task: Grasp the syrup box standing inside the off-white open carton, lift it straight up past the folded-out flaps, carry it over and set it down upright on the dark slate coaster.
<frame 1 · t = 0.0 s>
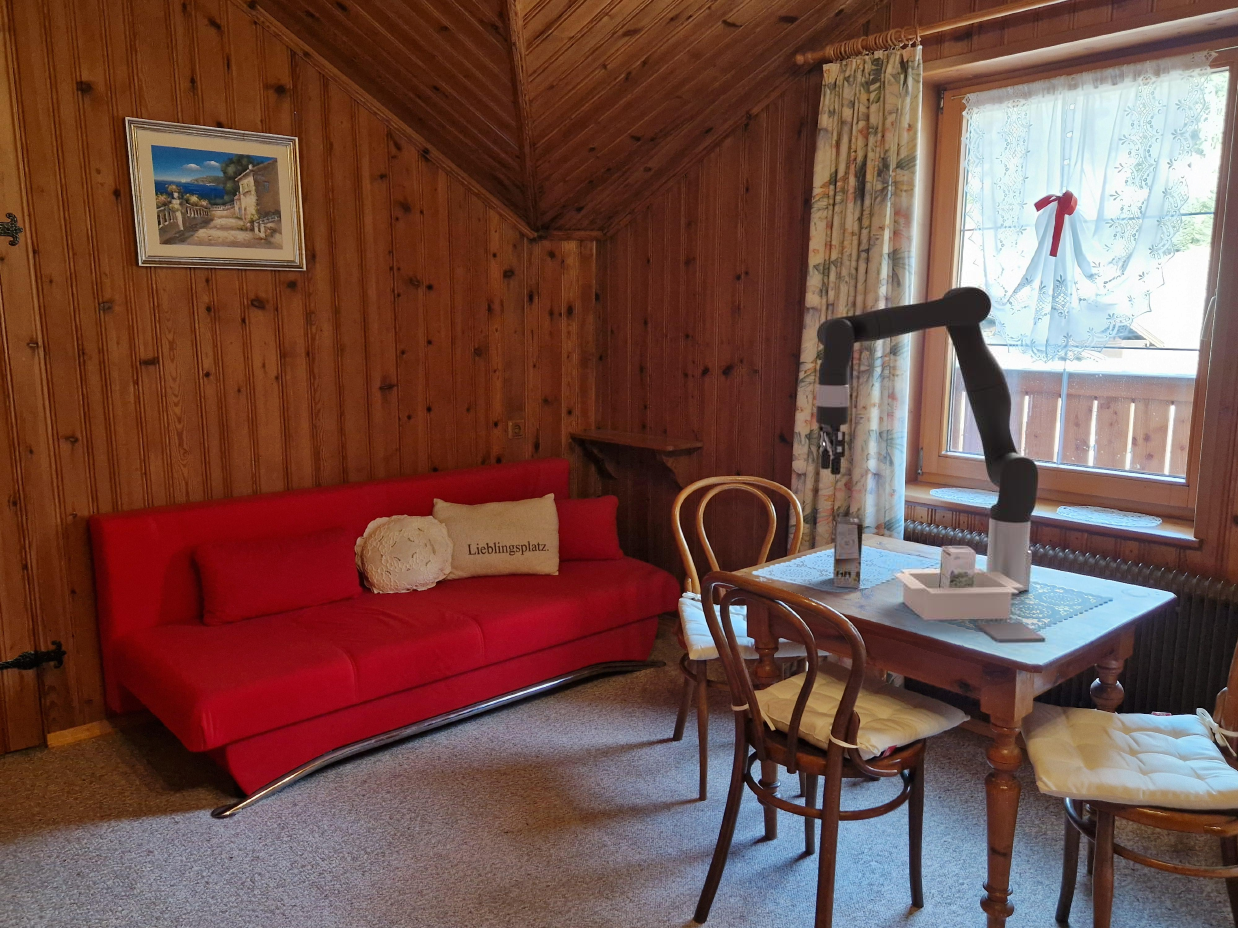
hand: (830, 471, 219), 29 cm above the table, fingers open, 8 cm apart
coffee box: (846, 583, 229), on the table
coaster: (1009, 633, 192), on the table
carton: (954, 609, 208), on the table
syrup box: (954, 610, 208), resting in carton
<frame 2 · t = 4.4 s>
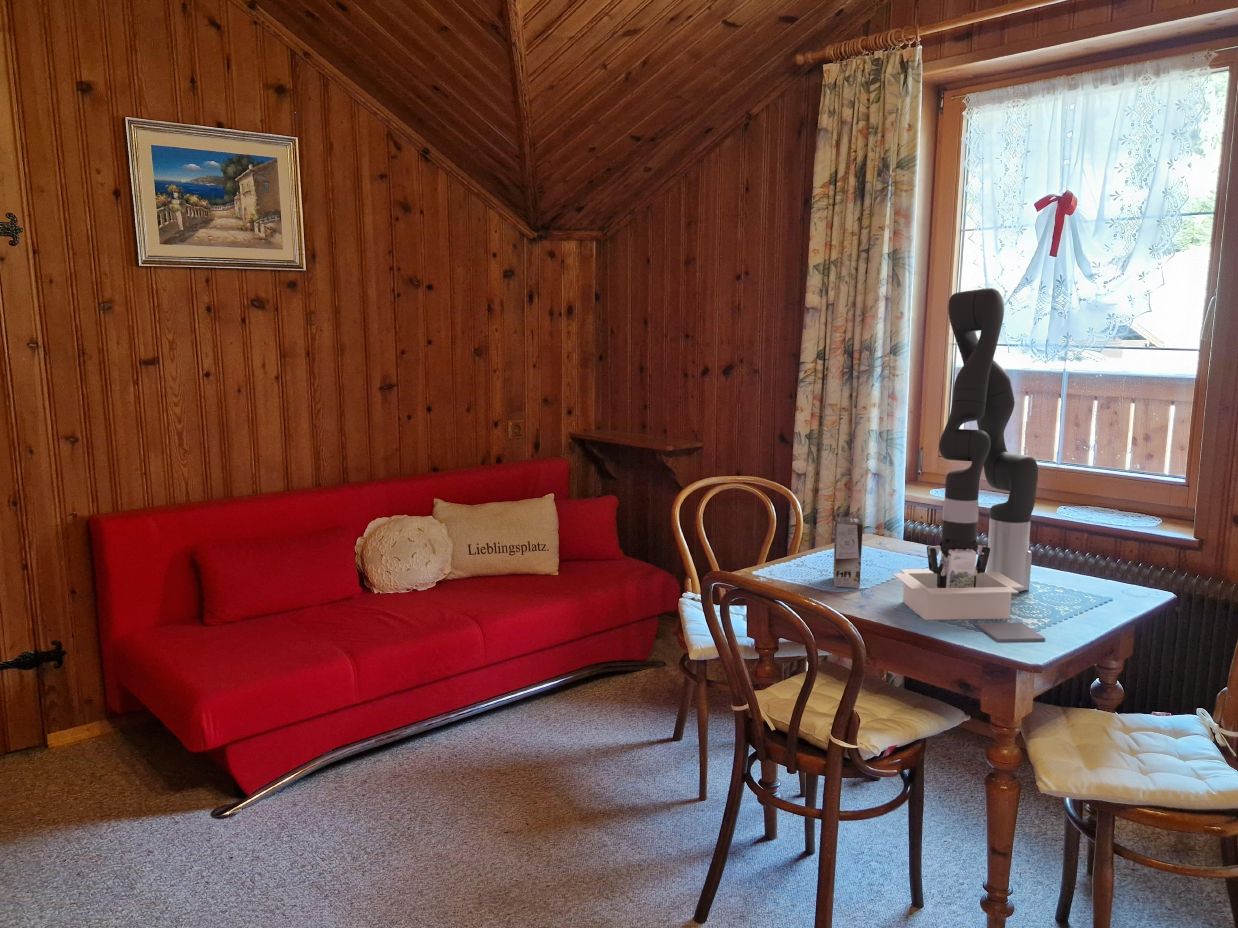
hand: (955, 590, 207), 5 cm above the table, fingers closed on syrup box, 5 cm apart
syrup box: (954, 610, 208), resting in carton, touching gripper
everything else where it was.
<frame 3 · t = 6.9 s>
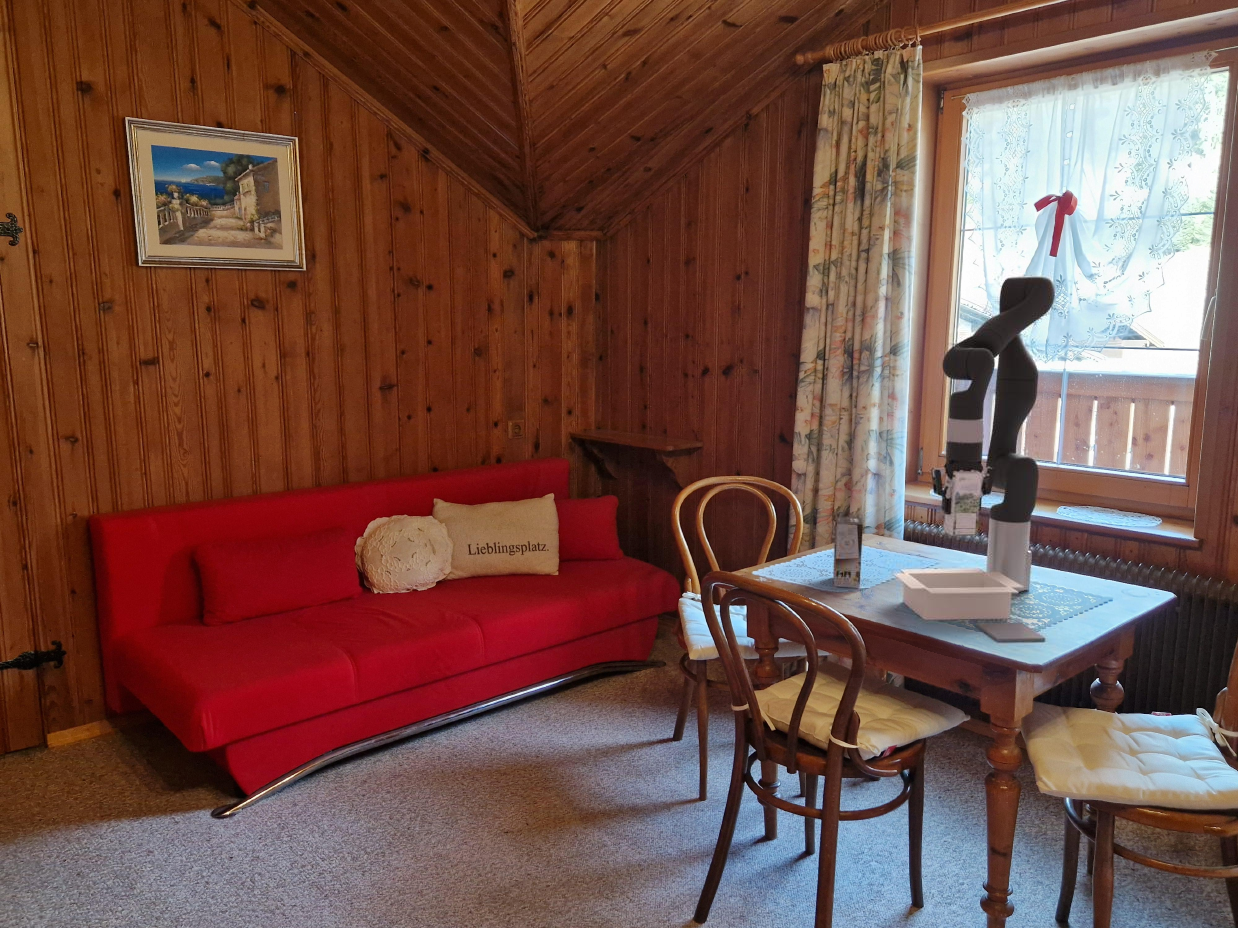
hand: (960, 513, 204), 22 cm above the table, fingers closed on syrup box, 5 cm apart
syrup box: (960, 534, 205), point 18 cm above the table, touching gripper
everything else where it was.
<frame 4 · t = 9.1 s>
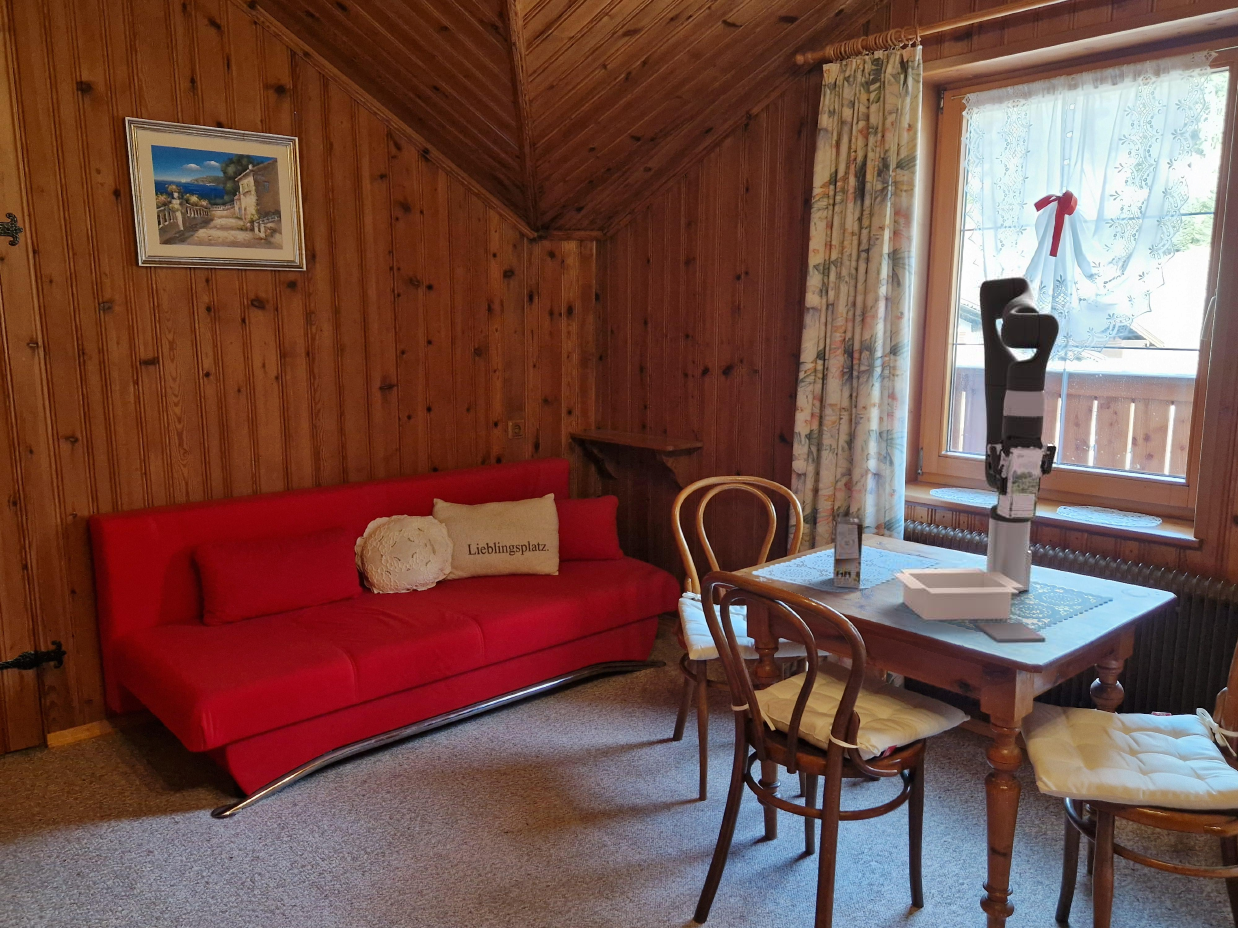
hand: (1017, 494, 188), 30 cm above the table, fingers closed on syrup box, 5 cm apart
syrup box: (1015, 517, 189), point 25 cm above the table, touching gripper
everything else where it was.
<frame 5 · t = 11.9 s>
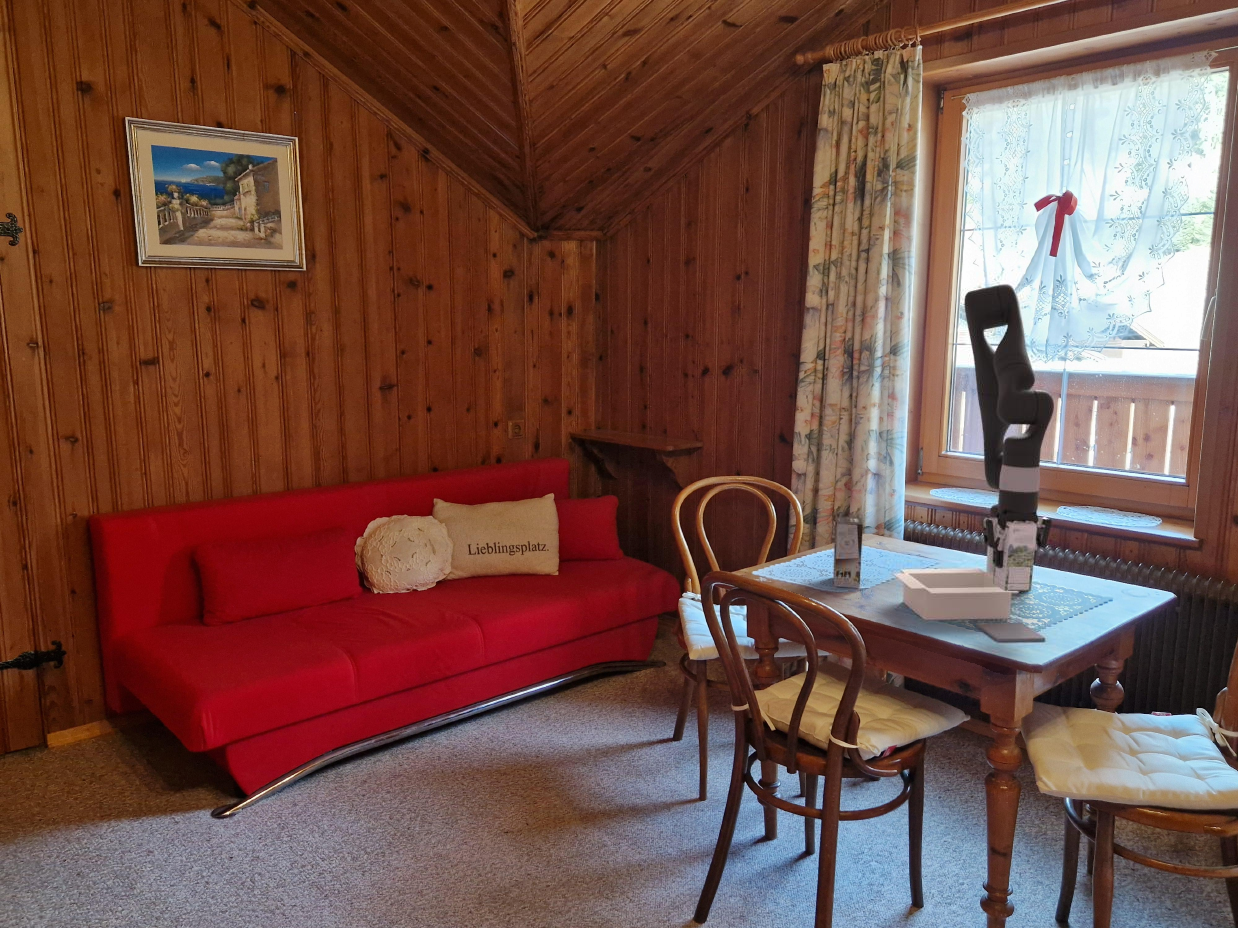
hand: (1013, 566, 190), 14 cm above the table, fingers closed on syrup box, 5 cm apart
syrup box: (1011, 588, 191), point 10 cm above the table, touching gripper
everything else where it was.
when the fingers open (6 cm above the table, at t = 14.1 s): syrup box drops 1 cm, resting on coaster.
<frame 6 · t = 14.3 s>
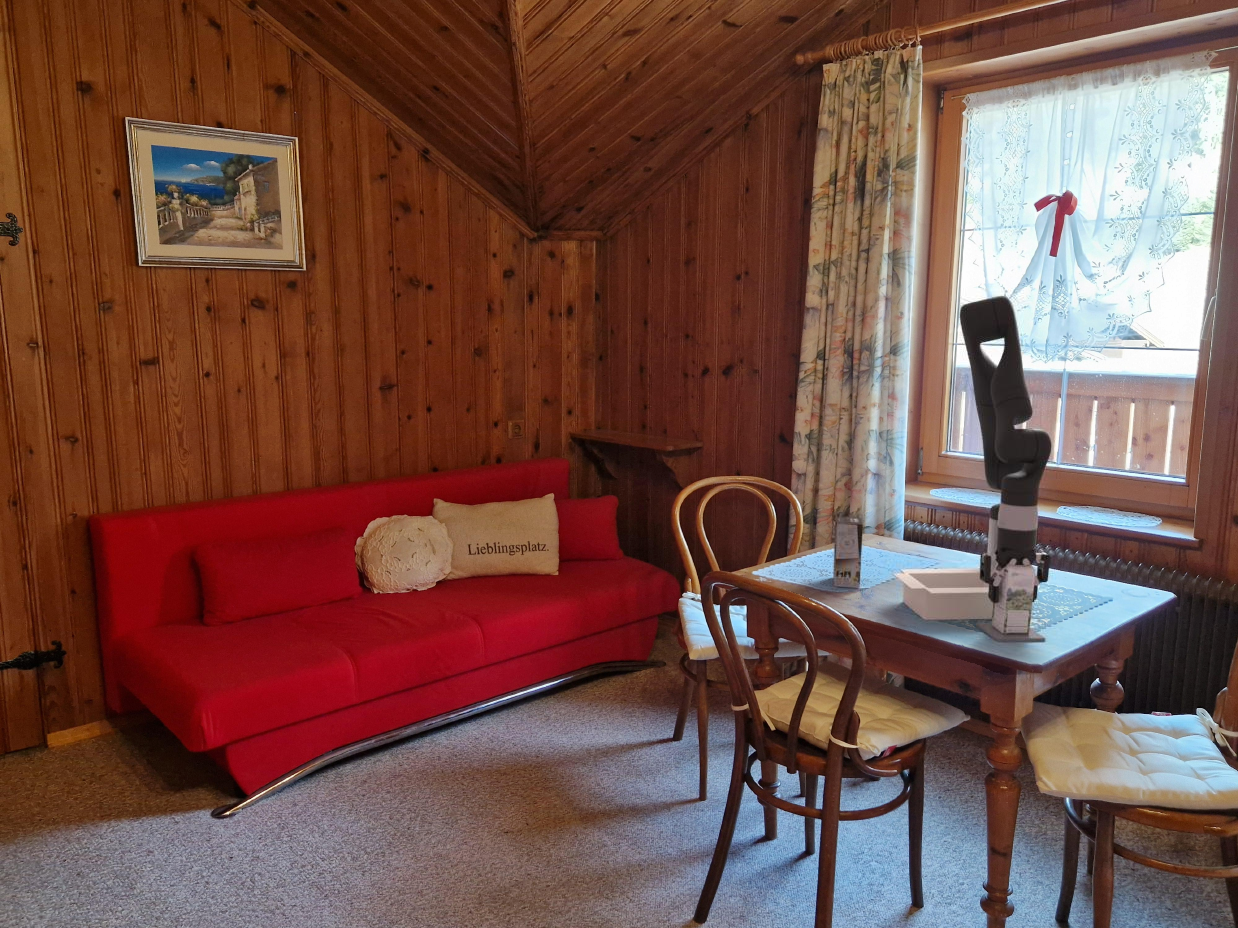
hand: (1012, 601, 191), 7 cm above the table, fingers open, 7 cm apart
syrup box: (1010, 630, 192), resting on coaster
everything else where it was.
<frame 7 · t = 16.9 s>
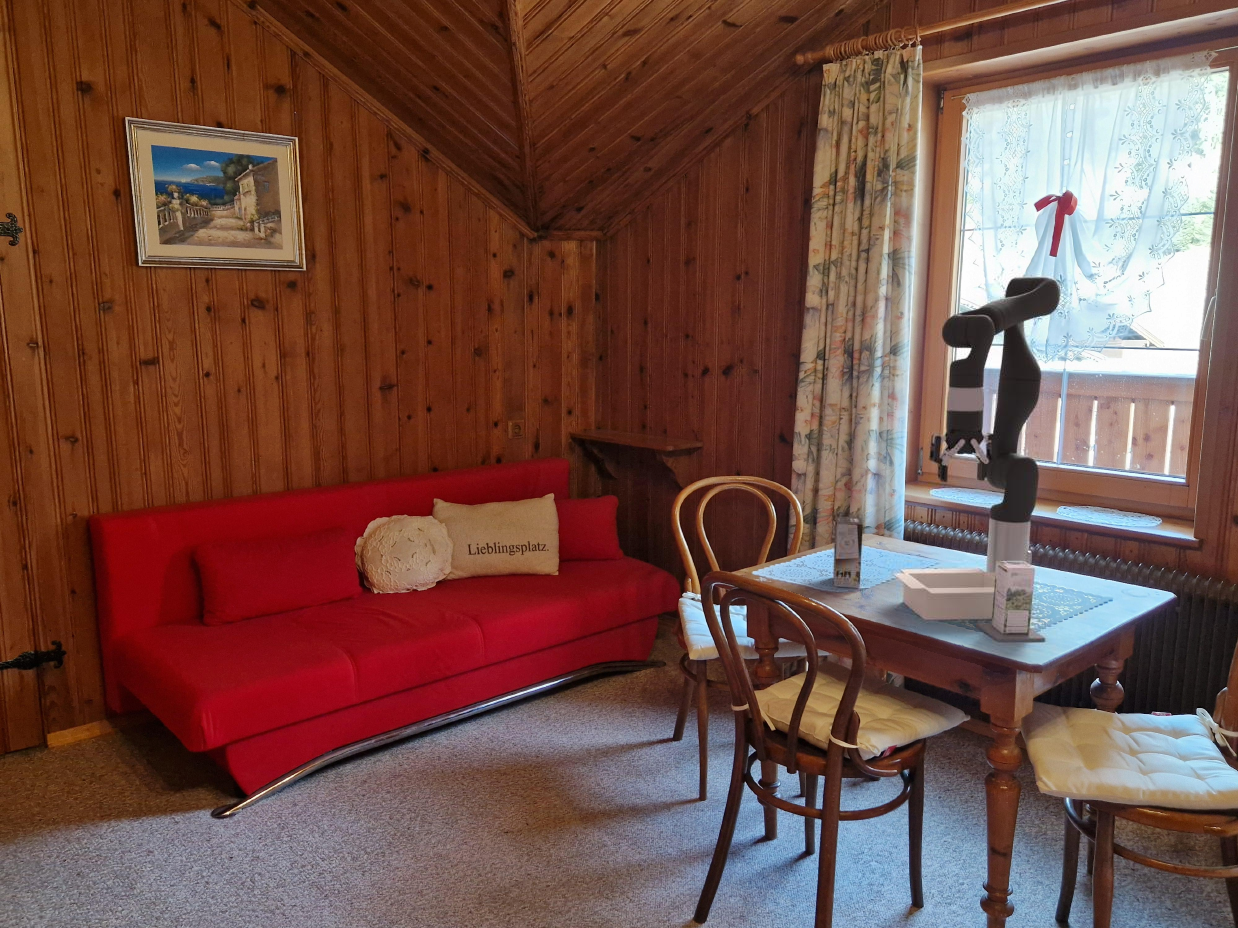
hand: (962, 480, 202), 30 cm above the table, fingers open, 8 cm apart
nothing on the table moved.
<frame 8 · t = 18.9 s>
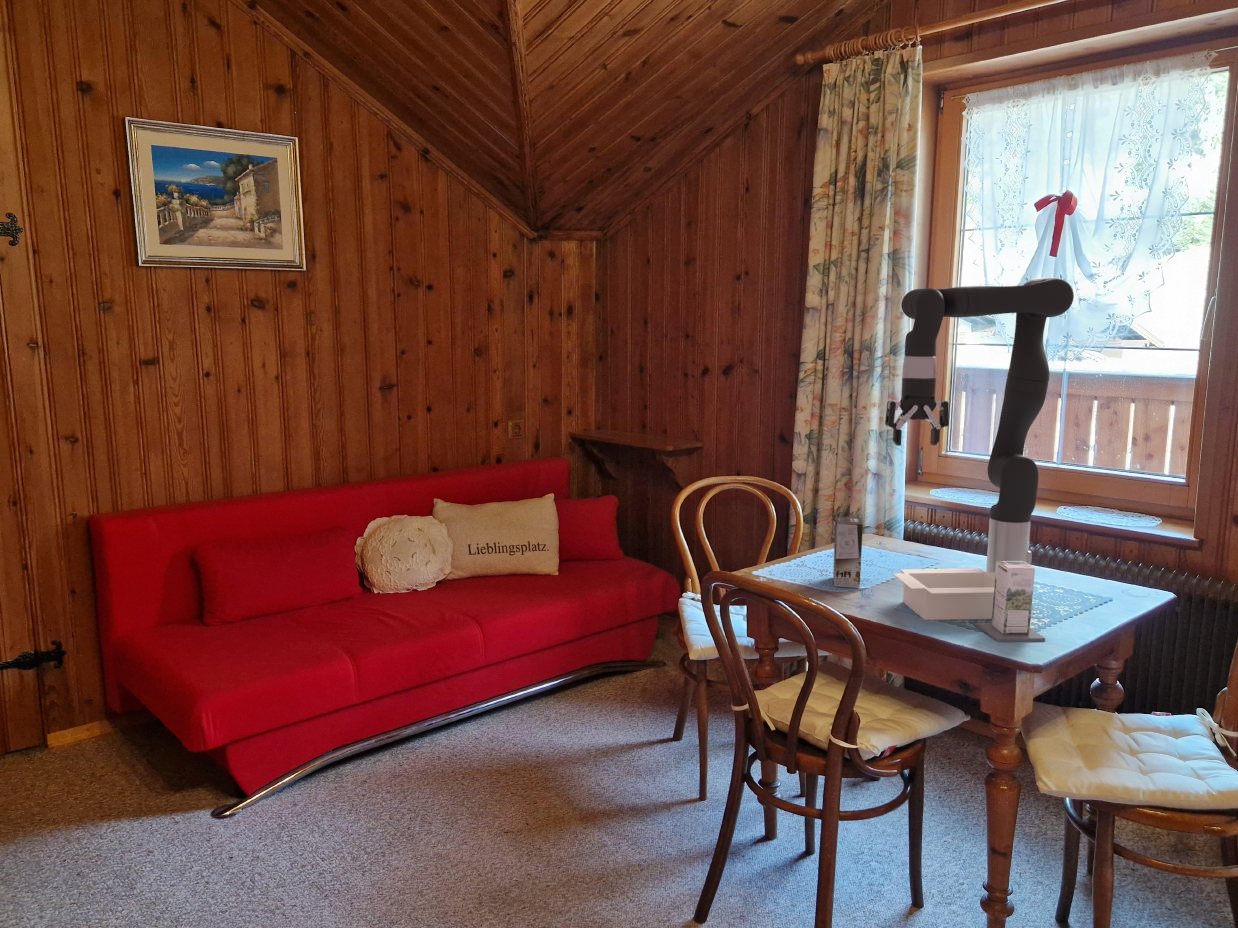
hand: (915, 445, 215), 36 cm above the table, fingers open, 8 cm apart
nothing on the table moved.
at the end: syrup box inside the target area on the coaster (0.1 cm from its centre), point 0.4 cm above the coaster's base; syrup box tilted 0°; the gripper is holding nothing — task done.
